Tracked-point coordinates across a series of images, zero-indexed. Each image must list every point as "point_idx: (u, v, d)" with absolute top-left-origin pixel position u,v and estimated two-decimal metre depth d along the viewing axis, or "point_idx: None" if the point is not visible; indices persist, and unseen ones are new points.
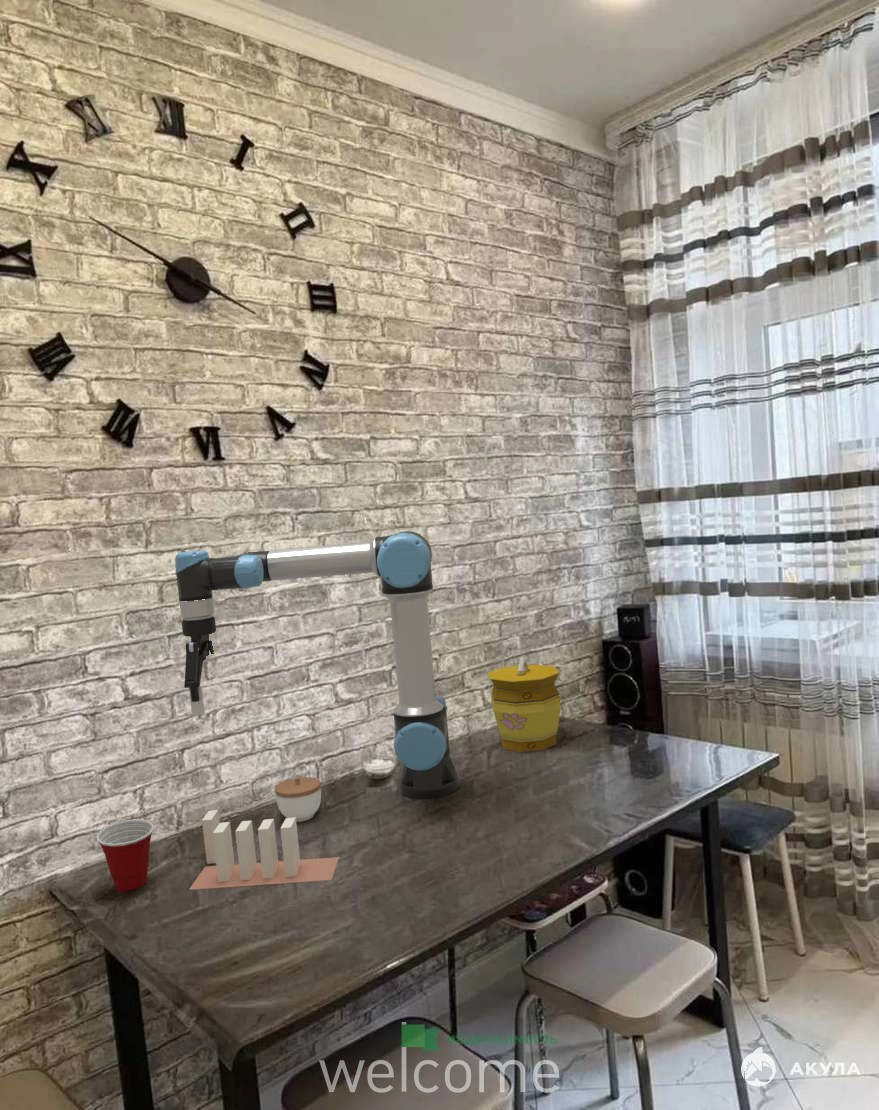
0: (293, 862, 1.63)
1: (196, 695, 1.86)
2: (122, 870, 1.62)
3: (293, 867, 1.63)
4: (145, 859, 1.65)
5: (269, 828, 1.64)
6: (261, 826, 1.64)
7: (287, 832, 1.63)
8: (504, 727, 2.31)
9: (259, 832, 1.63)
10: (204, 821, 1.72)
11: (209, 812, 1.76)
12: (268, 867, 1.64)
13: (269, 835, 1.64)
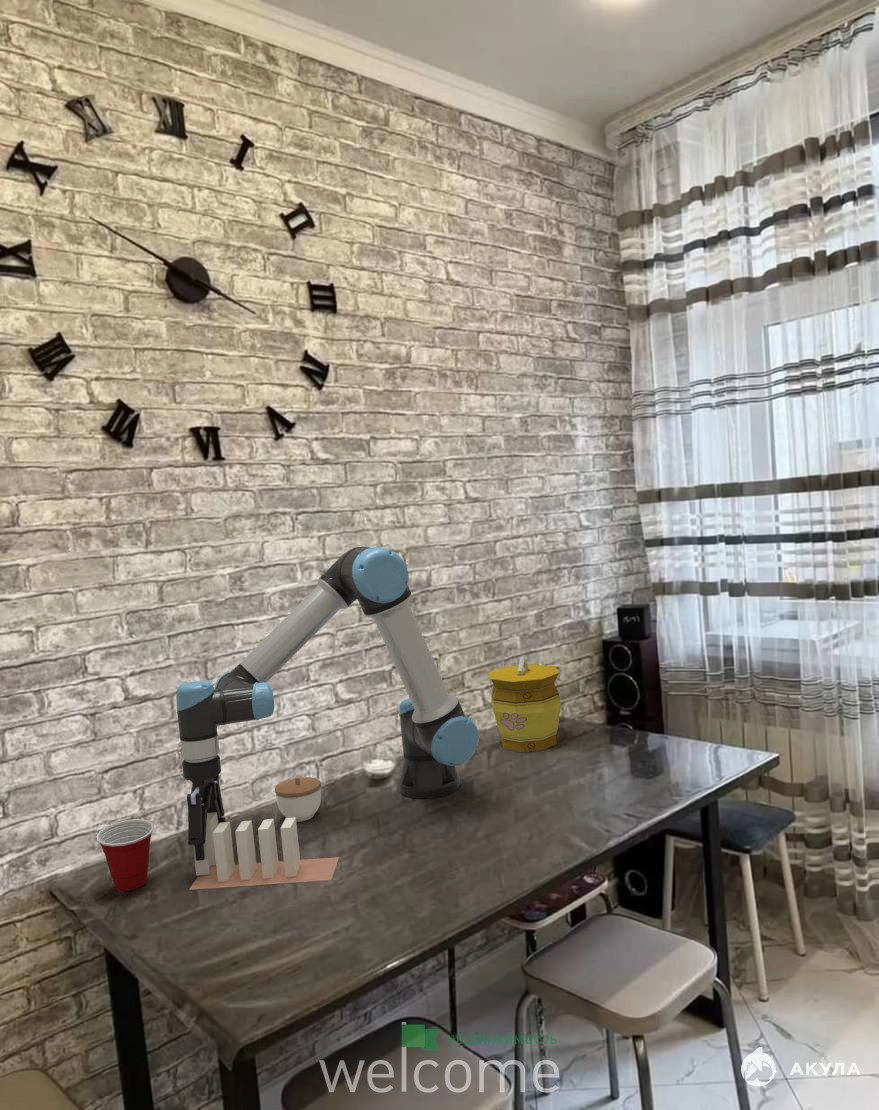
0: (293, 862, 1.63)
1: (201, 853, 1.66)
2: (122, 870, 1.62)
3: (293, 867, 1.63)
4: (145, 859, 1.65)
5: (269, 828, 1.64)
6: (261, 826, 1.64)
7: (287, 832, 1.63)
8: (503, 727, 2.31)
9: (259, 832, 1.63)
10: None
11: (208, 814, 1.75)
12: (268, 867, 1.64)
13: (269, 835, 1.64)
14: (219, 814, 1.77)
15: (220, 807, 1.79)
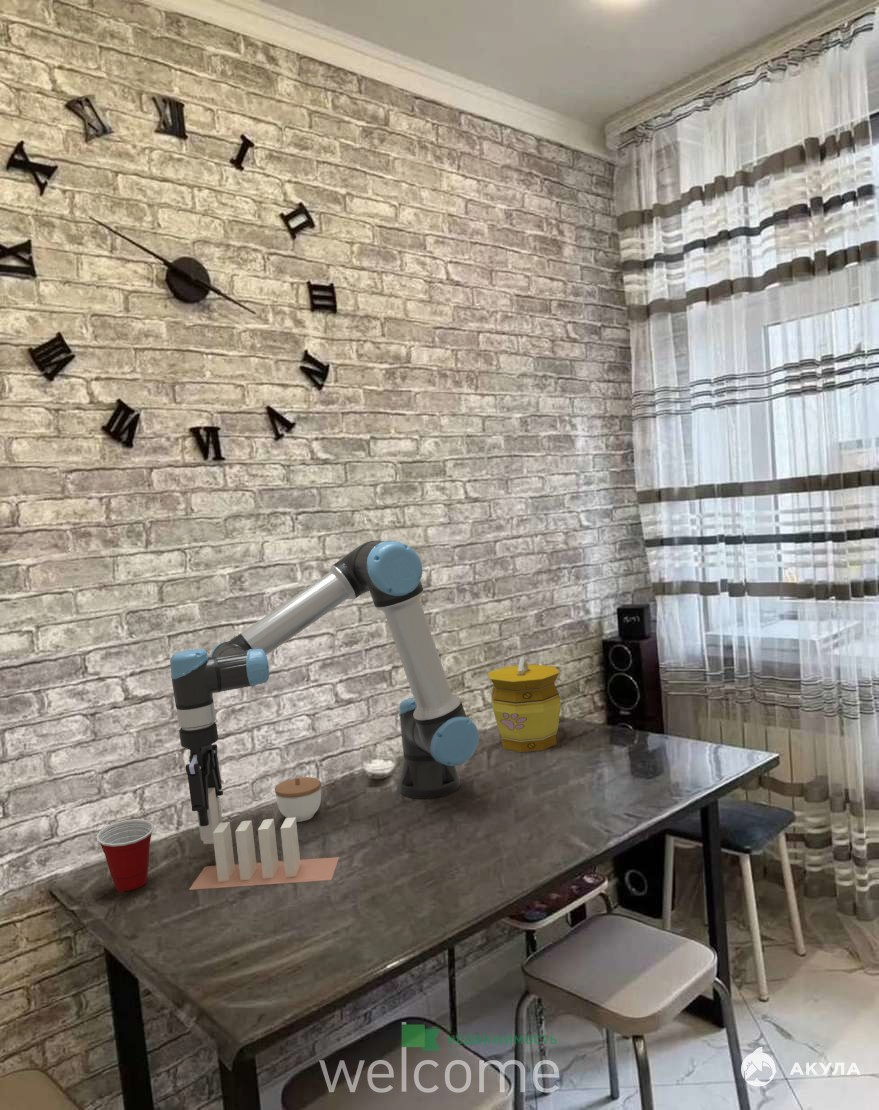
0: (293, 862, 1.63)
1: (205, 819, 1.69)
2: (122, 870, 1.62)
3: (293, 867, 1.63)
4: (145, 859, 1.65)
5: (269, 828, 1.64)
6: (261, 826, 1.64)
7: (287, 832, 1.63)
8: (503, 727, 2.31)
9: (259, 832, 1.63)
10: None
11: None
12: (268, 867, 1.64)
13: (269, 835, 1.64)
14: (217, 786, 1.76)
15: (217, 779, 1.78)
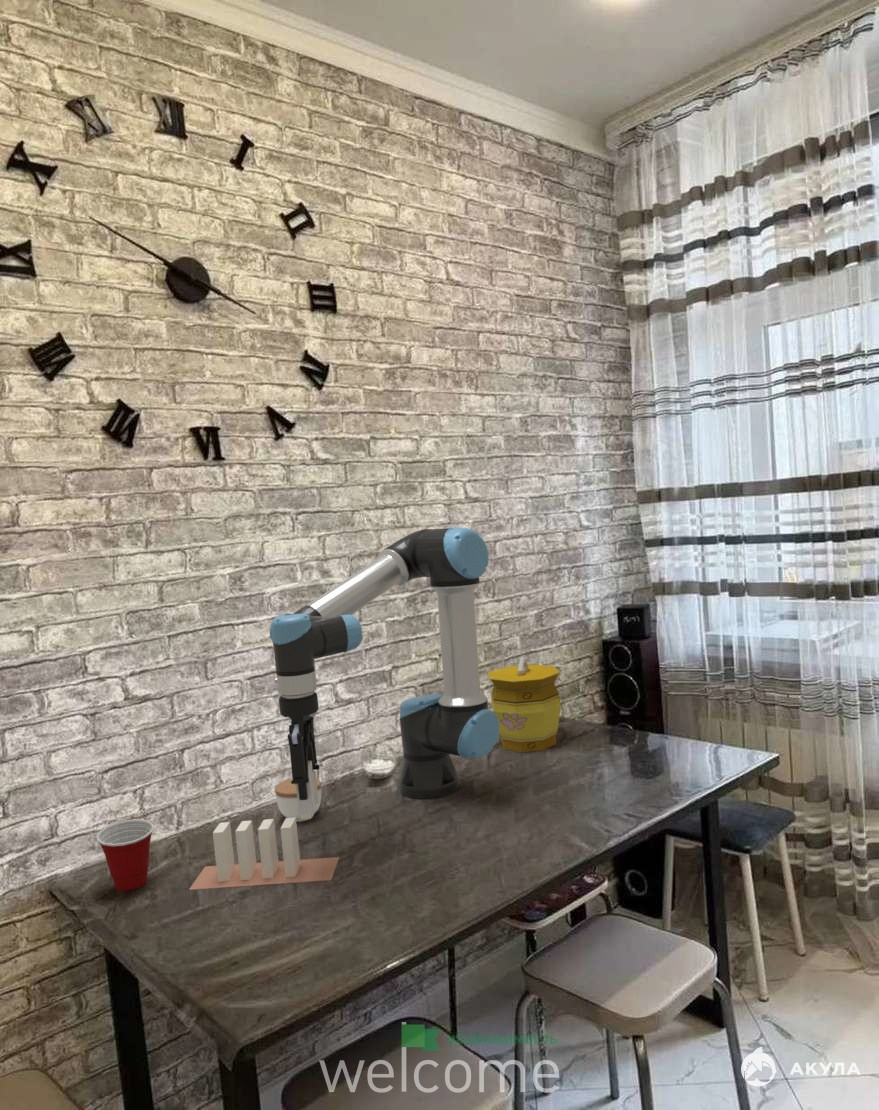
0: (293, 862, 1.63)
1: (305, 792, 1.60)
2: (122, 870, 1.62)
3: (293, 867, 1.63)
4: (145, 859, 1.65)
5: (269, 828, 1.64)
6: (261, 826, 1.64)
7: (287, 832, 1.63)
8: (504, 727, 2.31)
9: (259, 832, 1.63)
10: None
11: None
12: (268, 867, 1.64)
13: (269, 835, 1.64)
14: (313, 759, 1.67)
15: (313, 752, 1.69)
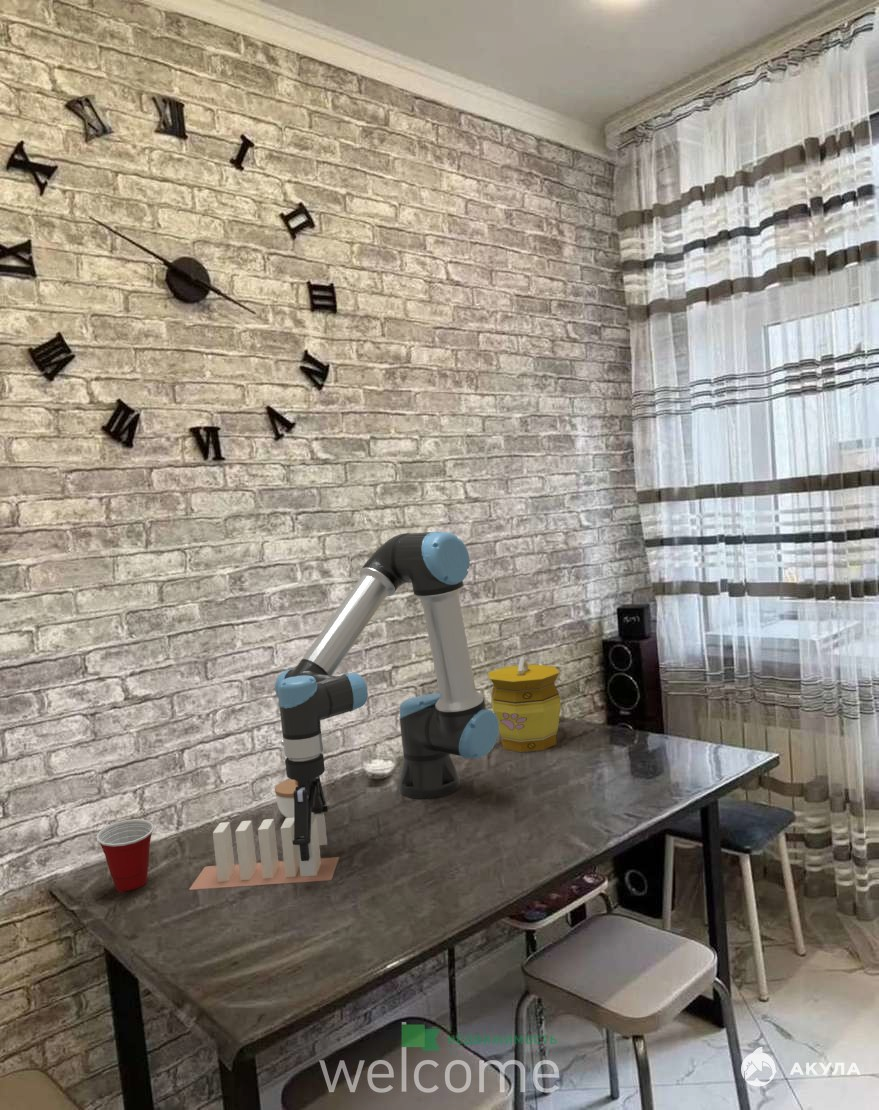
0: (293, 862, 1.63)
1: (306, 853, 1.57)
2: (122, 870, 1.62)
3: (293, 867, 1.63)
4: (145, 859, 1.65)
5: (269, 828, 1.64)
6: (261, 826, 1.64)
7: (287, 832, 1.63)
8: (504, 727, 2.31)
9: (259, 832, 1.63)
10: None
11: None
12: (268, 867, 1.64)
13: (269, 835, 1.64)
14: (322, 805, 1.72)
15: (322, 798, 1.73)
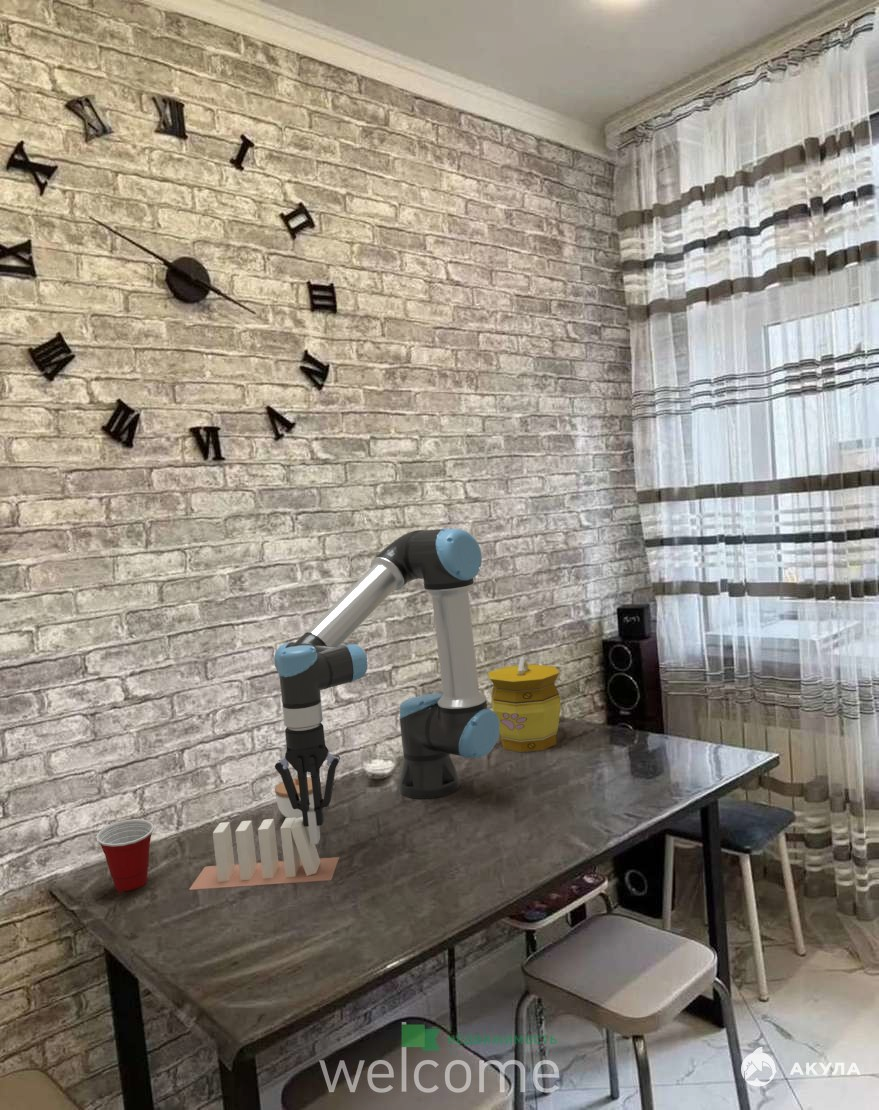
0: (293, 862, 1.63)
1: (303, 819, 1.64)
2: (122, 870, 1.62)
3: (293, 867, 1.63)
4: (145, 859, 1.65)
5: (269, 828, 1.64)
6: (261, 826, 1.64)
7: (287, 832, 1.63)
8: (504, 727, 2.31)
9: (259, 832, 1.63)
10: (293, 829, 1.63)
11: (296, 820, 1.67)
12: (268, 867, 1.64)
13: (269, 835, 1.64)
14: (315, 799, 1.63)
15: None
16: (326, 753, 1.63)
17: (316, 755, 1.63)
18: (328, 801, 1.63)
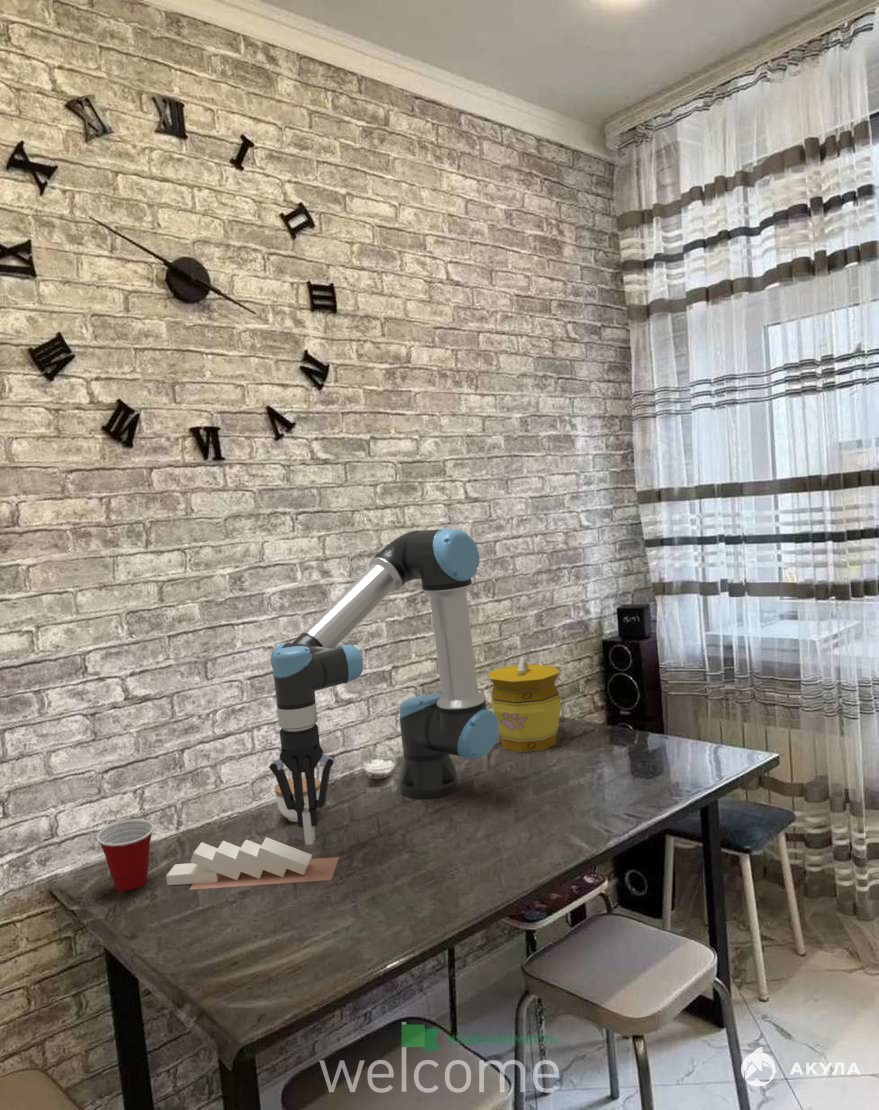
0: (272, 863, 1.64)
1: (298, 820, 1.65)
2: (122, 870, 1.62)
3: (277, 866, 1.63)
4: (145, 859, 1.65)
5: (219, 849, 1.65)
6: None
7: (242, 854, 1.64)
8: (504, 727, 2.31)
9: (215, 860, 1.64)
10: (259, 855, 1.63)
11: None
12: (251, 868, 1.64)
13: (224, 852, 1.64)
14: (310, 800, 1.64)
15: (319, 794, 1.64)
16: (321, 754, 1.63)
17: (311, 756, 1.63)
18: (323, 802, 1.64)
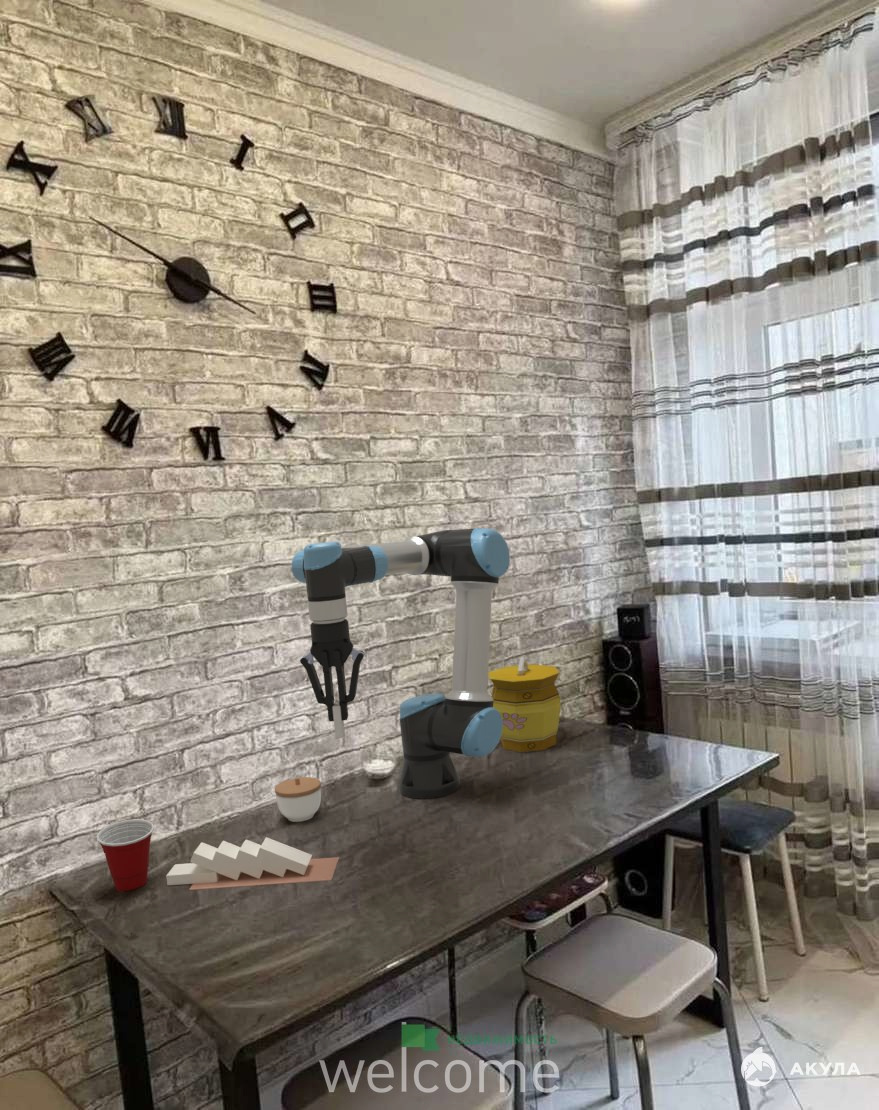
0: (272, 863, 1.64)
1: (328, 714, 1.66)
2: (122, 870, 1.62)
3: (277, 866, 1.63)
4: (145, 859, 1.65)
5: (219, 849, 1.65)
6: None
7: (242, 854, 1.64)
8: (504, 727, 2.31)
9: (215, 860, 1.64)
10: (259, 855, 1.63)
11: None
12: (251, 868, 1.64)
13: (224, 852, 1.64)
14: (341, 694, 1.65)
15: (349, 688, 1.65)
16: (351, 648, 1.64)
17: (341, 649, 1.64)
18: (353, 695, 1.65)
